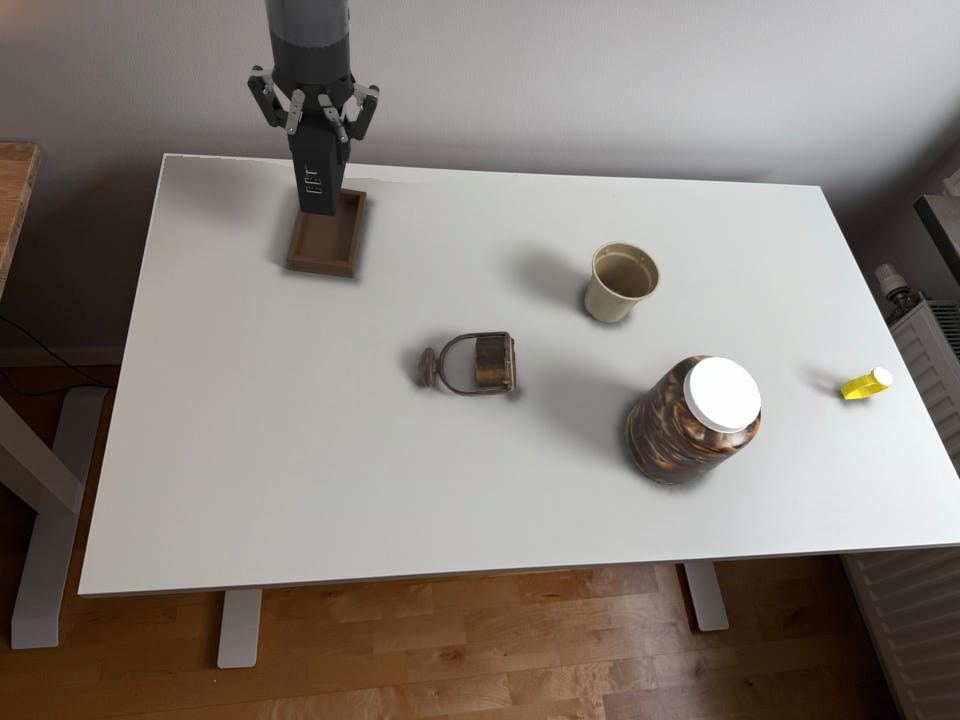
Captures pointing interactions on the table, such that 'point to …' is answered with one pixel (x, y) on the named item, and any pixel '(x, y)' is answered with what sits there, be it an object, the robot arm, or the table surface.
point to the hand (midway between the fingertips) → (321, 156)
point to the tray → (329, 238)
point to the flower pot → (620, 280)
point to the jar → (693, 419)
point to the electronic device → (317, 165)
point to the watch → (875, 380)
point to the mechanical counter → (478, 363)
